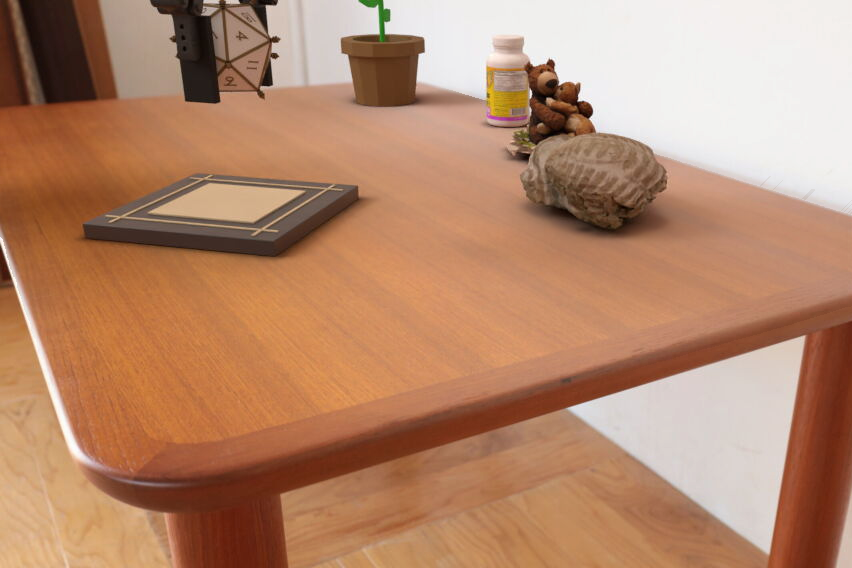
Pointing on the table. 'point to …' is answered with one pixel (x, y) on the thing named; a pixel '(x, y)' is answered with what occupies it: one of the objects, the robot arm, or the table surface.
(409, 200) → the table surface
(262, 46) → the game die
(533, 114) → the bear figurine
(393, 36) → the flowerpot
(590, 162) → the fossil
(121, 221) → the game board
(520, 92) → the supplement bottle
